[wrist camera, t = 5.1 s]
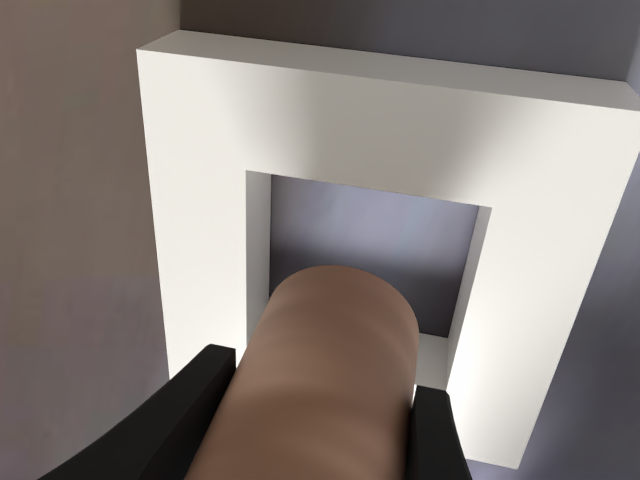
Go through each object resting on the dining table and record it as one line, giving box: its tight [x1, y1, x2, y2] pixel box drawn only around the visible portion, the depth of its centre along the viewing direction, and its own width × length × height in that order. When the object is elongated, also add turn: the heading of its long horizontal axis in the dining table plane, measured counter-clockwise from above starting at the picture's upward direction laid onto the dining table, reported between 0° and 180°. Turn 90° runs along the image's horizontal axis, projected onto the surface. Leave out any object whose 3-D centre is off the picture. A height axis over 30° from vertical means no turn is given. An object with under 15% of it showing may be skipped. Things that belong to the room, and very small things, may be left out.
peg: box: [184, 265, 419, 480], centre depth 11 cm, size 4×4×8 cm
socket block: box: [136, 30, 640, 470], centre depth 17 cm, size 12×12×2 cm
